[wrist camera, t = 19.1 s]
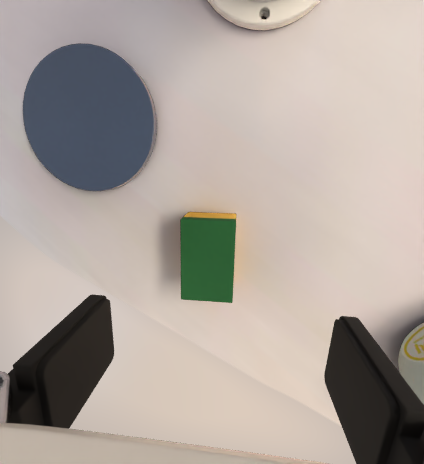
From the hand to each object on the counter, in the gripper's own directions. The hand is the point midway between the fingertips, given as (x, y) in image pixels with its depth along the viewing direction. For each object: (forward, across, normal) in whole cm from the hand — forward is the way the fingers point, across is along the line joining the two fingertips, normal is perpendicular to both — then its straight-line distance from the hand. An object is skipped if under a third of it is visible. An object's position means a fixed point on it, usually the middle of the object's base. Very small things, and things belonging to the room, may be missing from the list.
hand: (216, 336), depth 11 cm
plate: (+17, +14, -10) cm, 25 cm away
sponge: (+17, +2, +2) cm, 17 cm away
